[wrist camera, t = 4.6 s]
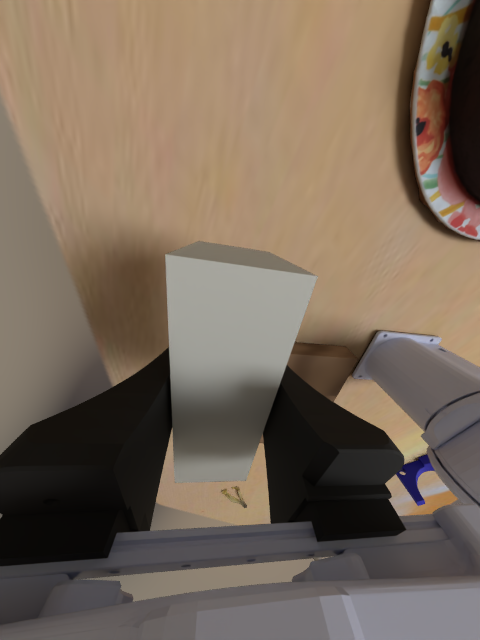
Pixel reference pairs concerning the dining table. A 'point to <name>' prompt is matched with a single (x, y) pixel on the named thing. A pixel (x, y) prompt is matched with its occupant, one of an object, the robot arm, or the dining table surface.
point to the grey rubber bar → (227, 352)
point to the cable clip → (415, 476)
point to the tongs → (234, 497)
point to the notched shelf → (322, 367)
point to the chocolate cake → (449, 115)
